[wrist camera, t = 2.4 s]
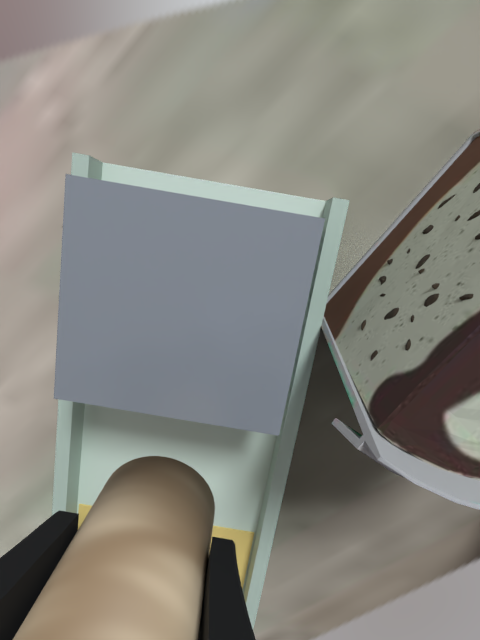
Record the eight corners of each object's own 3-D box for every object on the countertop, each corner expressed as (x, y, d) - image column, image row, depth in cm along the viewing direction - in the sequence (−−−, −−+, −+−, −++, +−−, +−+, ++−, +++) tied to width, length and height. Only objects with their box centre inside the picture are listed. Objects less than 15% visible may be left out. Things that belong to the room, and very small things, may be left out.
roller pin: (223, 466, 12) (196, 679, 6) (206, 561, 13) (169, 826, 7) (106, 447, 12) (-30, 643, 6) (98, 543, 13) (-29, 794, 7)
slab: (304, 224, 14) (325, 218, 10) (271, 387, 16) (279, 435, 12) (117, 192, 14) (65, 173, 10) (102, 358, 16) (53, 398, 12)
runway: (335, 205, 15) (349, 200, 13) (252, 586, 19) (253, 629, 17) (98, 165, 15) (72, 152, 13) (70, 557, 19) (47, 597, 17)
